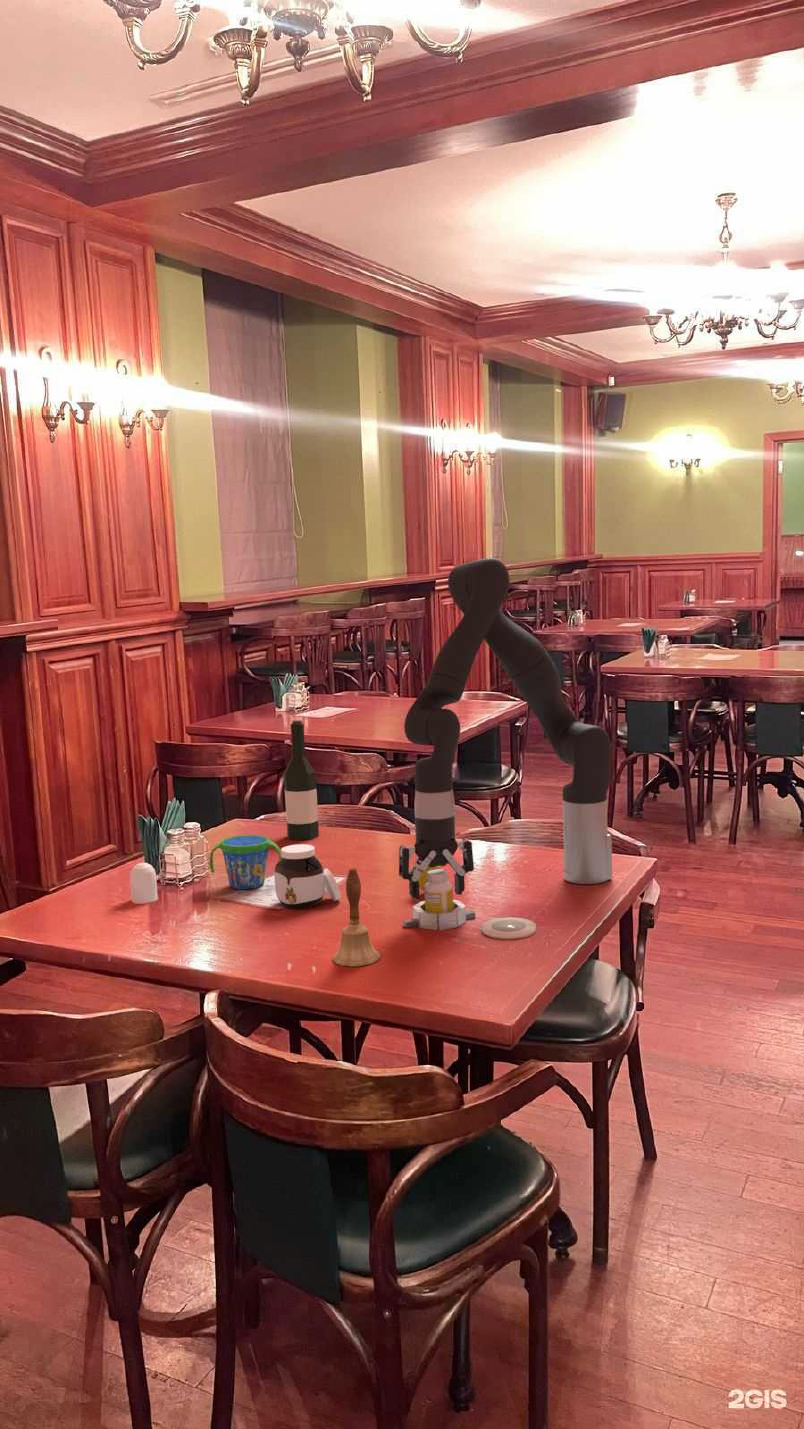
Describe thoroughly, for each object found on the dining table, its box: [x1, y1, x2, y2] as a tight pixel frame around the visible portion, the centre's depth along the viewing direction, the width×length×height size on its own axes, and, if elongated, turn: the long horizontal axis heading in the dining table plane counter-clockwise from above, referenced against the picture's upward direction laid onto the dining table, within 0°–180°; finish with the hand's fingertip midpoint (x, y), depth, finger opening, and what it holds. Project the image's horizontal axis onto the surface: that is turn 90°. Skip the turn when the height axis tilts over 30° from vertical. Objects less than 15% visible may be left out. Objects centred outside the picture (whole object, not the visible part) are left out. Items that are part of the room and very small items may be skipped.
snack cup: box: [208, 834, 282, 890], centre depth 241 cm, size 16×10×10 cm
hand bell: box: [332, 868, 381, 968], centre depth 192 cm, size 8×8×16 cm
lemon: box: [418, 866, 442, 892], centre depth 229 cm, size 6×6×8 cm
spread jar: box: [274, 843, 342, 910], centre depth 227 cm, size 12×11×12 cm
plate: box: [481, 917, 537, 940], centre depth 205 cm, size 10×10×1 cm
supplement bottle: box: [423, 869, 454, 913], centre depth 211 cm, size 5×5×10 cm
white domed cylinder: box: [129, 862, 159, 905], centre depth 234 cm, size 5×5×8 cm
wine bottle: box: [283, 719, 320, 841], centre depth 283 cm, size 8×8×30 cm
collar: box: [402, 899, 476, 931], centre depth 211 cm, size 14×9×3 cm
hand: (437, 896), depth 211 cm, fingers open, 8 cm apart
